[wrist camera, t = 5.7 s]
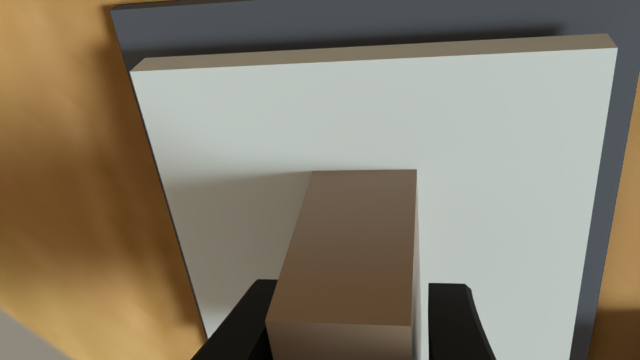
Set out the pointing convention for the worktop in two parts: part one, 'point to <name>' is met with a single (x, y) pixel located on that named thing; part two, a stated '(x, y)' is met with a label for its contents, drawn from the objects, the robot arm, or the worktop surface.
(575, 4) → the mat
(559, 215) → the lid
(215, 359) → the robot arm
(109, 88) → the worktop surface
